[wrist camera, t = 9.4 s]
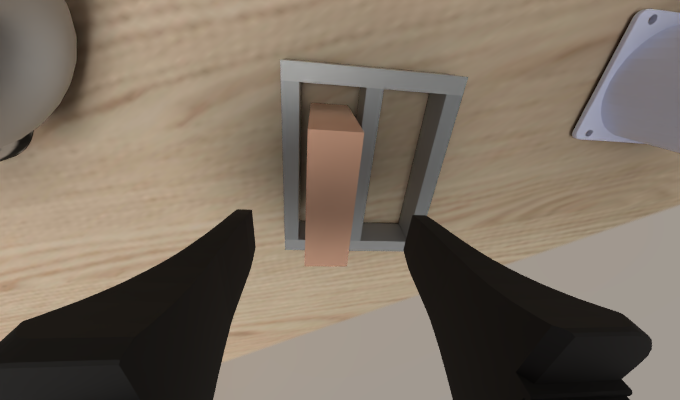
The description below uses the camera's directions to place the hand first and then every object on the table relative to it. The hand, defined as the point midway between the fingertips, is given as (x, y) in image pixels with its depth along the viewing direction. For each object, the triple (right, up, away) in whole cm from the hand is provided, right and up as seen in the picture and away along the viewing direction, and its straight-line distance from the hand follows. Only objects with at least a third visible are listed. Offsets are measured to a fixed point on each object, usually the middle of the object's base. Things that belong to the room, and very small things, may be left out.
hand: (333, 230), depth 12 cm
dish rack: (+2, +4, +8) cm, 9 cm away
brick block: (-1, +4, +8) cm, 9 cm away
